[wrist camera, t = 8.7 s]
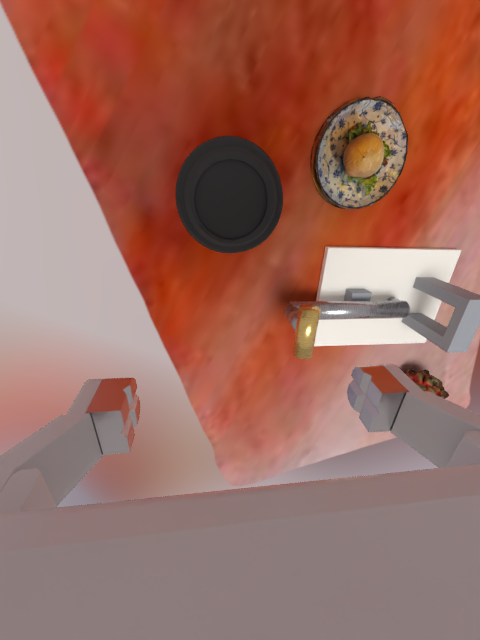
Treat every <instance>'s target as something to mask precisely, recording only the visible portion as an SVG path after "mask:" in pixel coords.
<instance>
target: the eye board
mask: <svg viewBox="0 0 480 640" xmlns="http://www.w3.org/2000/svg"><path fill="white" fill-rule="evenodd" d="M460 253H461V250H458V249H435V248H385V247H335V246H325V252H324V257H323V263H322V269H321V275H320V280H319V286H318V292H317V297H316V301H386V300H387V299H388V298H389V297H395V298H397V299H399V300H401V301H406V302H407V303H408V304H409V307H410V312H409V315H408V316H407V317H406V318H391V319H334V320H319V322H318V327H317V333H316V338H315V343H314V346H335V345H368V344H400V343H426V340H427V339H428V340H429V341H431V342H432V343H434V344H435V345H437V346H438V347H440V348H441V349H442V350H444V351H445V352H467V350H468V348H469V346H470V344H471V341H472V339H473V337H474V335H475V333H476V331H477V329H478V327H479V324H480V295H478V294H475V293H473V292H470V291H467V290H465V289H462V288H460V287H457V286H455V285H452V284H449V281H450V278H451V276H452V273H453V271H454V268H455V266H456V263H457V260H458V258H459V255H460ZM442 301H443V302H445V303H447V304H449V305H451V306H453V307H455V310H454V312H453V314H452V317H451V319H450V322H449V324H448V326H447V327H445V326H443V325H441V324H440V323H438V322H436V321H434V320H435V317H436V314H437V312H438V309H439V307H440V304H441V302H442Z"/></svg>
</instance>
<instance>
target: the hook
mask: <svg viewBox="0 0 480 640" xmlns="http://www.w3.org/2000/svg"><path fill="white" fill-rule="evenodd" d="M409 312H410V307H409V304H408V303H407V302H406V301H401V300H399V299H397V298H395V297H389V298H388V299H387V300H386V301H290V302H289V305H288V306H287V307H286V308H285V309H284V314H285V316H286V318H287V319H288V321H289V322H290V324H291V325H292V327H293V328H294V330H295V338H294V345H293V354H294V355H295V356H296V357H298V358H302V359H308V358H311V357H312V354H313V349H314V343H315V338H316V333H317V327H318V322H319V320H334V319H391V318H406V317H407V316H408V315H409Z"/></svg>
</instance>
